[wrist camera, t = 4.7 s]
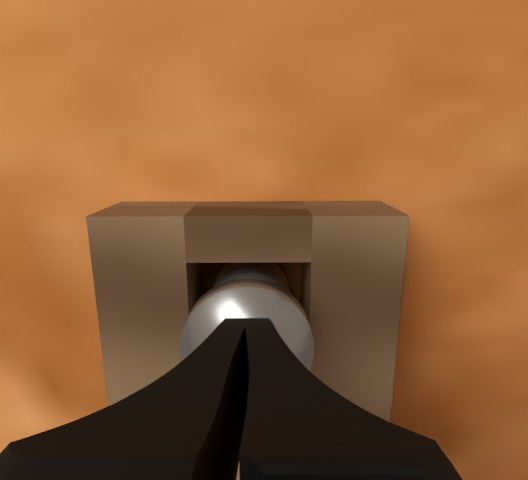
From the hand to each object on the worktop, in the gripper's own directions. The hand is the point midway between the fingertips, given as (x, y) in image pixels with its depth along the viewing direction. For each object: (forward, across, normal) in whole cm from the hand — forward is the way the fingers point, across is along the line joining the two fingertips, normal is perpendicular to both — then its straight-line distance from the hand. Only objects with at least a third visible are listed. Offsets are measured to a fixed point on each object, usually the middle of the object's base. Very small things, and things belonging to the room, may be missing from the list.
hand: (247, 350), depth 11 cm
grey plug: (+4, 0, 0) cm, 4 cm away
